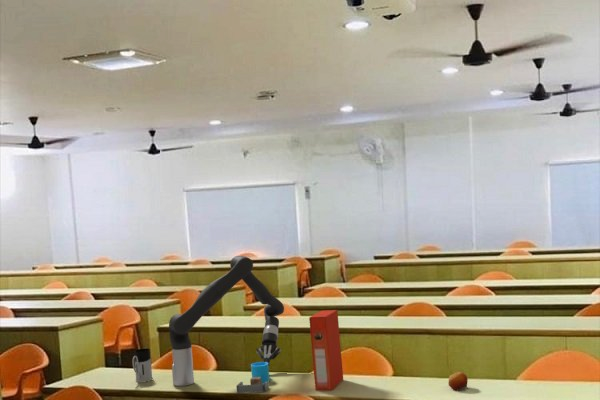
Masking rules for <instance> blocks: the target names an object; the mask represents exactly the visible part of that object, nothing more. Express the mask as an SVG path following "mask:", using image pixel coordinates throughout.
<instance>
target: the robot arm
mask: <svg viewBox="0 0 600 400" xmlns="http://www.w3.org/2000/svg"><path fill="white" fill-rule="evenodd" d="M253 262H254V261H253V260H252V259H251V258H249V257H247V256H243V255H236V256H233V257H232V259H231V260H230V270H229V271H228V272H227V273H226V274H224V275H222V276H221V277H218V278H217V279H215V280H213V281H212V282H211V283H209V284H208V285H206V287H205V288H204V289H203V290H201V292H200V293H199V294H198V295H197V298H196V299H195V301H194V303H193V304H192V305H191V306H190V307H189V308H188V309H187V310H185V312H183V313H176V314H174V315H172V316H171V317H170V319H169V321H168V330H169V340H170V343H171V351H172V362H173V364H171V373H172V385H173V386H177V387H184V386H189V385H190V386H191V385H192V384H194V383H195V375H194V365H193V363H194V362H193V348H192V347H193V346H192V341H191V339H190V336H189V332H190V331H191V330H192V329H193V328H194V326H195V325H196V324H197V323H198V321H200V319H201V318H202V317H203V316H204V315H205V314H206V313H208V311H210V310H211V309H212V308H213V307H214V306H215V305H217V303H218V302H219V301H221V300H222V298H223V297H224V296H225V295H226V294H228V292H229V291H230V290H231V289H233V288H234V287H235V285H237V284H238V283H239V282H240V281H241V280H242V281H243V283H245V284H246V286H248V288H249V289H250V290H251V292H252V293H253V295H254V296H255V297H256V298H257V300H258V301H259V302H260V303H261V304H262V305H265V306H264V309H263V314H264V319H265V320H264V321H265V323H264V324H265V325H264V329H263V333H262V340H261V345H260V347H259V348H255V351H256V354H257V355H258V356H259V357H260V360H262V361H263V362H267V363H268V367H270V364H271V360H274V359H276V358H277V356H278V355H280V353H281V352H282V350H281V348H280V347H278V345H277V344H278V338H279V325H280V321H279V318H278V317H277V316H280V315H283V314H284V312H285V306H284V304H283V302H281V300H279V299H278V298H277V297H275V295H273V294H272V293H271V292H270V291H269V289H268V288H267V286H266V285H265V284H264V283H263V282H261V280H259V278H257V276H256V275H255V274H253V272H252V270H253V268H254V263H253Z"/></svg>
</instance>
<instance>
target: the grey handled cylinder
mask: <svg viewBox="0 0 600 400" xmlns="http://www.w3.org/2000/svg"><path fill="white" fill-rule="evenodd" d="M131 363H132V369H133V371H134V373H135V381H136V382H135V383H146V381H148V382H151V381H153V380H154V377H153V368H152V358H151V349H150V348H140V349H139V348H138V349H136V350H134V356H133V357H132V362H131ZM152 379H153V380H152ZM150 380H151V381H150Z"/></svg>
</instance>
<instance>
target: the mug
mask: <svg viewBox="0 0 600 400" xmlns="http://www.w3.org/2000/svg"><path fill="white" fill-rule="evenodd" d="M269 367H270V366H268V363H267V362H264V361H259V362H258V361H257V362H253V363H251V364H250V370H251V378H252V377H261V384H264V383H265V382H266V381H268V383H269V382H270V372H269V371H270V370H269Z"/></svg>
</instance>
